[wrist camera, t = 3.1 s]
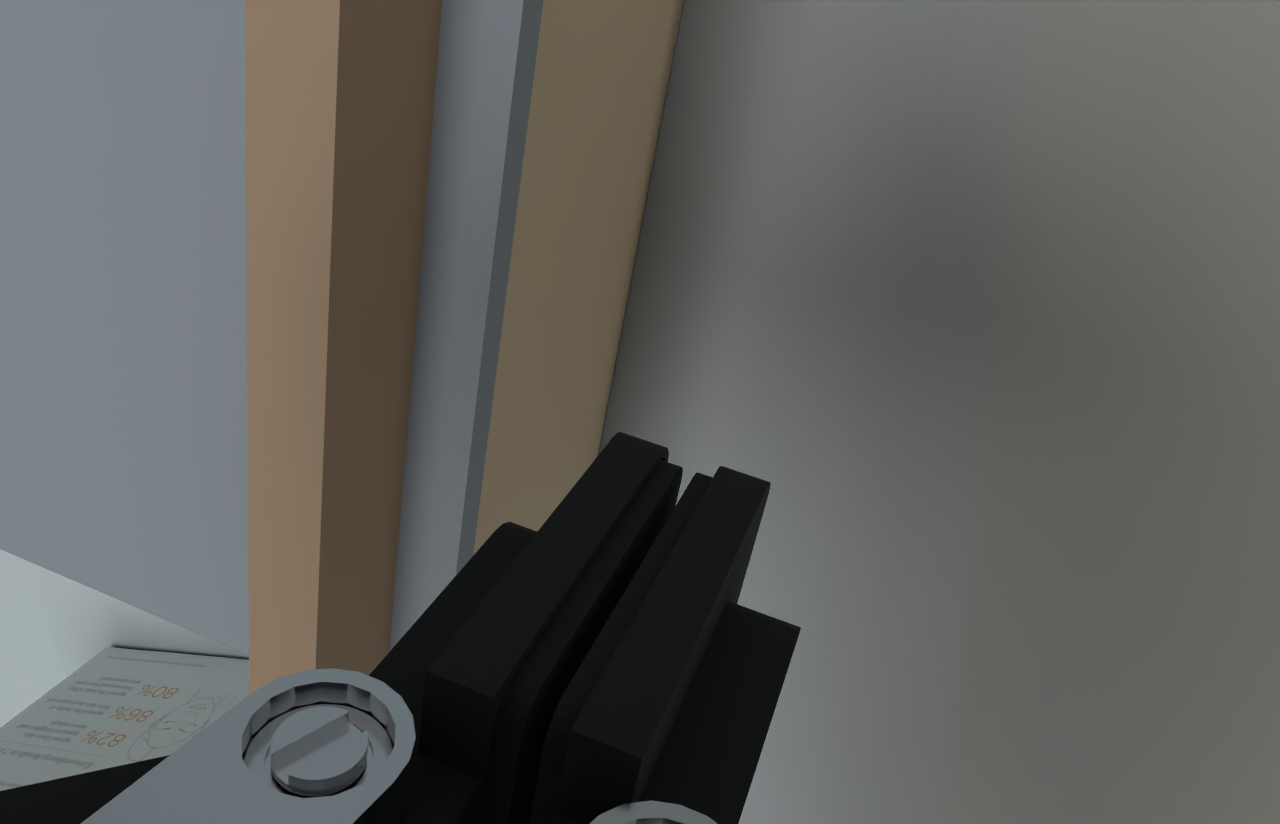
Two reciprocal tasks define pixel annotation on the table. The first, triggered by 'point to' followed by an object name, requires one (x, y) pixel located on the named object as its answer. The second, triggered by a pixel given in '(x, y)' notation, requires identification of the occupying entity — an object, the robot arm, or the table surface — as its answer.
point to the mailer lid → (256, 305)
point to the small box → (119, 713)
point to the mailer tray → (573, 247)
